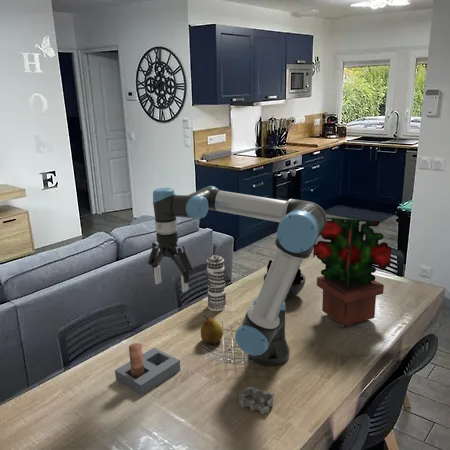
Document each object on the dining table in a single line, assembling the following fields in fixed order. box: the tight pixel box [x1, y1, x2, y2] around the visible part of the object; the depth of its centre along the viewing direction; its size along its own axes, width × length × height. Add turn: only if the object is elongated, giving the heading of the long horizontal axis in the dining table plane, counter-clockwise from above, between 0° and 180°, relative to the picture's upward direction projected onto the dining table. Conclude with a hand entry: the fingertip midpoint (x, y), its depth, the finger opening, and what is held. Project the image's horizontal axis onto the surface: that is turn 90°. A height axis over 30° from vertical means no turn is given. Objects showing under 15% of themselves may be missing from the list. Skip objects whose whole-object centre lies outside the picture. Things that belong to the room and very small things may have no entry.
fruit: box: [200, 315, 224, 346], centre depth 183 cm, size 9×9×12 cm
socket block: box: [114, 347, 181, 396], centre depth 163 cm, size 14×18×4 cm
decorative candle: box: [205, 254, 227, 312], centre depth 209 cm, size 9×9×25 cm
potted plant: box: [312, 214, 392, 328], centre depth 193 cm, size 22×22×45 cm
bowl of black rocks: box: [263, 259, 306, 299], centre depth 219 cm, size 20×20×19 cm
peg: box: [128, 342, 144, 379], centre depth 158 cm, size 4×4×14 cm
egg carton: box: [237, 386, 275, 415], centre depth 146 cm, size 11×8×4 cm
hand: (171, 286), depth 167 cm, fingers open, 13 cm apart
